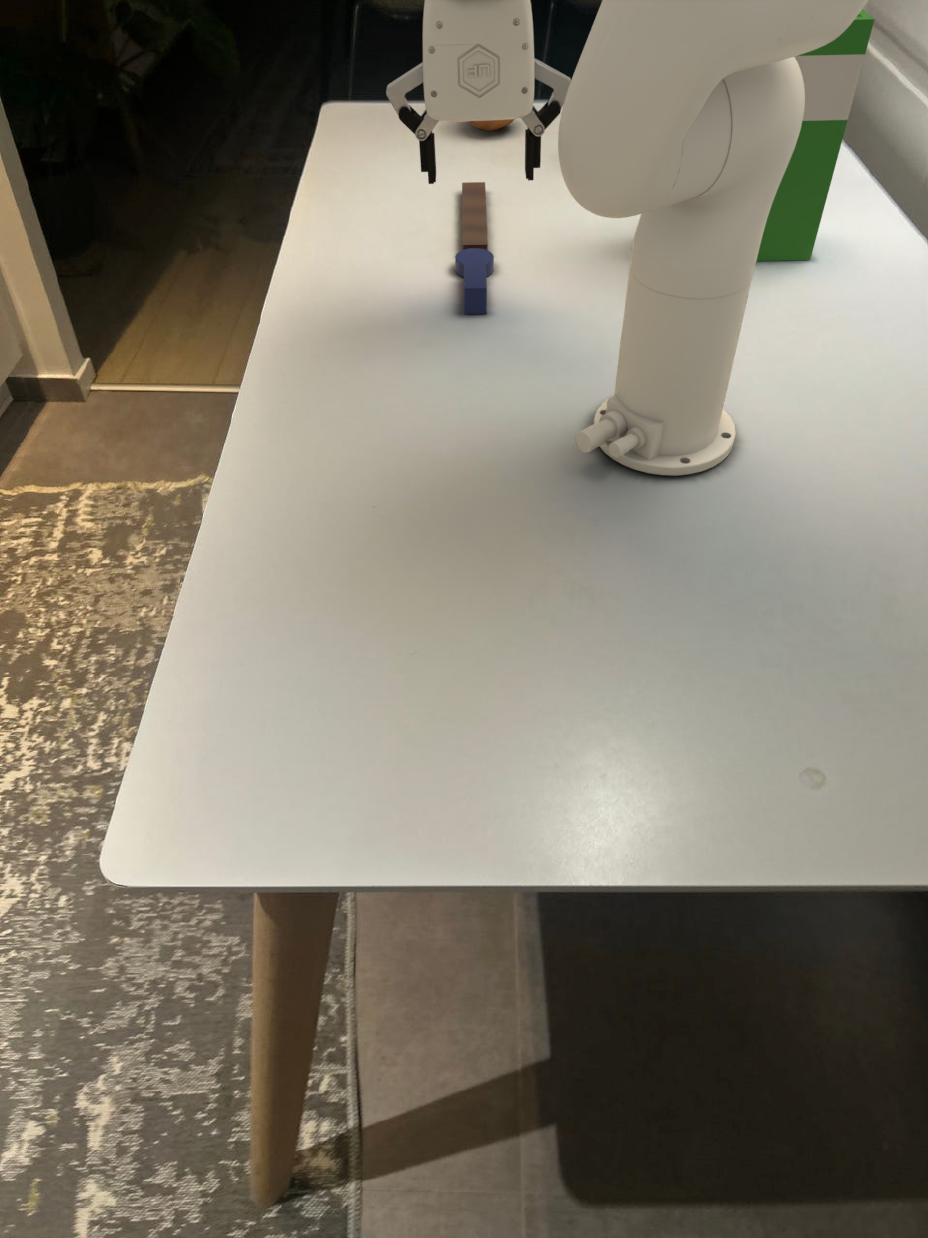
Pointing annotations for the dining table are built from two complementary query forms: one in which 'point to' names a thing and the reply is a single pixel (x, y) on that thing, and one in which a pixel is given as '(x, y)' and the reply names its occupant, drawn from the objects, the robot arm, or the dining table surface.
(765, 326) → the dining table surface
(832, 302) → the dining table surface
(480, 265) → the blue block and puck
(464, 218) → the walnut strip
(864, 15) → the hardback book
